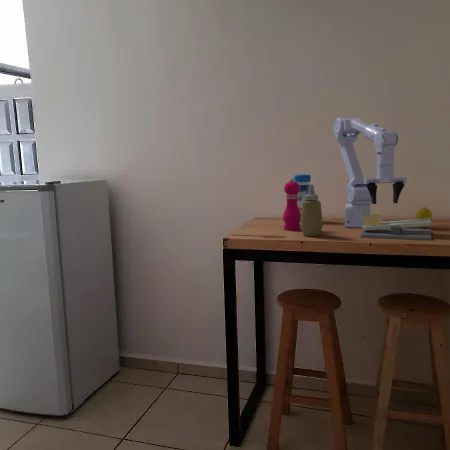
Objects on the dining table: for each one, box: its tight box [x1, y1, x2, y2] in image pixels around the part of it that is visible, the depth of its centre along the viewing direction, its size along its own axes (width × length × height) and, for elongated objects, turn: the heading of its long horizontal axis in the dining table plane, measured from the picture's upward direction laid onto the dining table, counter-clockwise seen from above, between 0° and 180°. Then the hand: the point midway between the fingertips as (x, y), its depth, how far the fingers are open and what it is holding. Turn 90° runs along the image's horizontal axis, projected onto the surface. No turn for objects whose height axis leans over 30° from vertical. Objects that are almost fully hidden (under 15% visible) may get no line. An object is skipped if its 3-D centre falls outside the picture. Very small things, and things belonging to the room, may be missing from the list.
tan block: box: [363, 212, 384, 226], centre depth 162 cm, size 6×5×4 cm
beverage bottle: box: [293, 173, 312, 224], centre depth 196 cm, size 8×8×20 cm
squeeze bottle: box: [299, 184, 324, 237], centre depth 162 cm, size 8×8×18 cm
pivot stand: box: [360, 226, 432, 241], centre depth 160 cm, size 22×16×4 cm
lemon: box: [415, 206, 433, 229], centre depth 170 cm, size 6×6×8 cm
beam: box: [361, 218, 432, 232], centre depth 159 cm, size 22×9×2 cm, turn 67°
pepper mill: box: [282, 177, 301, 231], centre depth 176 cm, size 7×7×20 cm
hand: (384, 203), depth 164 cm, fingers open, 7 cm apart
